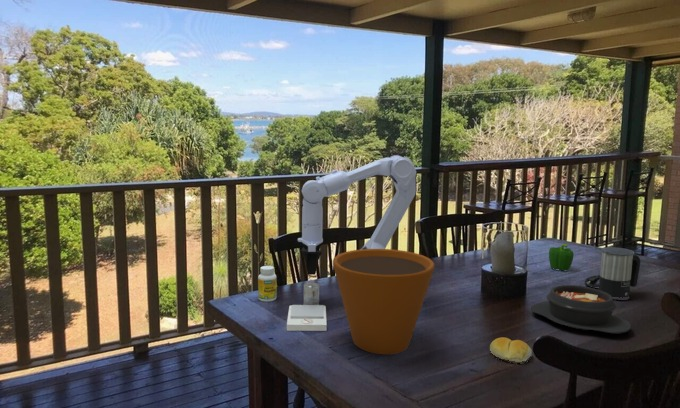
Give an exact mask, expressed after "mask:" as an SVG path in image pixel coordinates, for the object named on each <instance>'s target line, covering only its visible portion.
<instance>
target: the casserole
mask: <svg viewBox="0 0 680 408" xmlns="http://www.w3.org/2000/svg"><path fill="white" fill-rule="evenodd" d="M546 299H547V301H541V302H537V303H534V304H533V305H532V306H531V308H530V310H531V311H532V312H533V313H535V314H537V315H540V316H542V317H545V318H546V319H548V320H551V322H554V323H556V324H559V325H561V326H563V325H565V326H564V327H566V326H568V327H567V328H569V327H572V328H571V329H573V328H578V329H585V330H584V331H588V330H594V331H593V332H595V331H597V332H600V333H606V334H607V333H608V334H615V335H616V334H622V333H626V332H629V331H630V330H631V329H632V324H631V323H630V322H629V321H628V320H626V319H624V318H621V317H617V316H616V315H615V316H614V315H613V311H615V309H616V308H617V305H616V303H615V302H614V300H613V298H612V296H611V295H609V294H608V293H606V292H603V291H601V290H598V289H595V288H591V287H588V286H582V285H576V284H575V285H573V284H564V285H556V286H554V287H552V288H551V289H550V291H549V293H548V294H547V295H546ZM578 329H577V330H578Z"/></svg>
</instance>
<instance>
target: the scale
mask: <svg viewBox="0 0 680 408" xmlns="http://www.w3.org/2000/svg"><path fill="white" fill-rule="evenodd" d="M327 325H328V324H327V307H326V305H324V304H319V305H304V304H292V305H289V307H288V314H287V320H286V331H287V332H291V331H292V332H293V331H294V332H307V331H308V332H327Z"/></svg>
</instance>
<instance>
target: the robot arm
mask: <svg viewBox="0 0 680 408" xmlns="http://www.w3.org/2000/svg"><path fill="white" fill-rule="evenodd" d="M377 175H378V176H385V177H389V178H390V179H391V180H392V183H393V185H394V188H395V191H396V192H395V193H394V195H393V197H392V199H391V201H390V202H389V204H388V207H387V208H386V210H385V212H384V213H383V215H382V217H381V219H380V220H379V223H378V224H377V226H376V228H375V230H374V231H373V234H372V235H371V236H370V238H369V239H368V240H367V241H366V242H365V244H364V245H363V246H362V247H361V248H360V249H359V250H361V249H387V248H386V247H387V246H388V244H389V242H390V241H391V239H392V237H393V235H394V233H395V232H396V230H397V228H398V226H399V225H400V223H401V221H402V219H403V217H404V216H405V213H406V212H407V210H408V209H409V207H410V205H411V203H412V201H413V200H414V198H415V195H416V192H417V191H416V190H417V188H416V186H417V185H416V183H417V182H416V176H417V170H416V168H415V165H414V163H413V161H412V160H411V159H409V158H408V157H403V156H401V155H397V154H394V155H391V156H390V157H389V156H387V157H383V158H380V159H377V160H374V161H372V162H369V163H367V164H365V165H362V166H360V167H357V168H355V169H352V170H350V171H348V172H345V171H344V170H342V169H340V170H337V169H333V170H331V173H329V174H326V175H324V176H321V177H320V176H316V177H315V180H314V179H312V180H311V179H310V180H307V181H306V182H305V183H304V184H303V186H302V188H301V195H302V196H303V199H302V205H303V206H302V208H301V212H302V214H301V216H302V217H301V237H298V238H297V242H299V243H302V246H303V248H301V255H302V256H303V258H304V261H305V268H306V272H307V275H308V276H309V275H310V276H311V275H312V276H316V275H317V274H316V273H317V270H318V263H319V259H320V257H321V255H322V254H323V250H320V248H321V247H322V245H323V242H324V238H323V223H324V222H323V214H324V213H323V211H324V210H323V209H324V208H323V199H324V197H326V198H328V197H330V196H333V195H336V194H339V193H341V192H344V191H347V190H349V187H350V185H351V184H353V183H356V182H359V181H362V180H364V179H365V180H366V179H369V178H370V177H374V176H377Z"/></svg>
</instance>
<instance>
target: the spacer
mask: <svg viewBox="0 0 680 408" xmlns="http://www.w3.org/2000/svg"><path fill="white" fill-rule="evenodd" d="M303 305H320V284H319V283H317V282H306V283H303Z"/></svg>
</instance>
